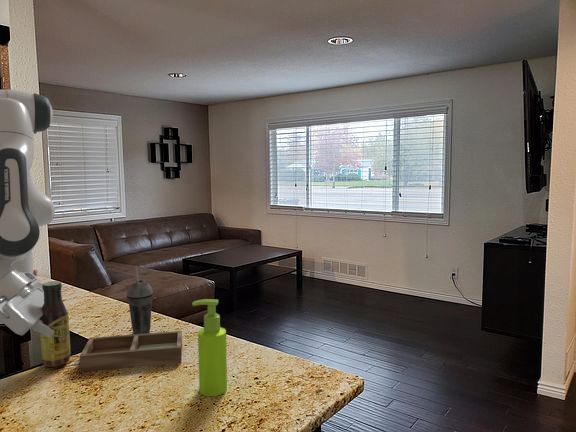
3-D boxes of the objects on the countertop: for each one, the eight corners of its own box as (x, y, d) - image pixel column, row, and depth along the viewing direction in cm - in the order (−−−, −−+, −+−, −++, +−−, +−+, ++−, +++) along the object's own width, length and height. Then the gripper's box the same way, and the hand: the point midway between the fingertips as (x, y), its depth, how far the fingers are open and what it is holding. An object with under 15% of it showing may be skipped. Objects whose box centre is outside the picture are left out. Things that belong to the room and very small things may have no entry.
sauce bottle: (59, 369, 104) (52, 288, 101) (36, 367, 105) (28, 287, 102) (77, 356, 111) (71, 280, 107) (55, 354, 112) (49, 278, 109)
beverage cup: (160, 330, 129) (157, 263, 127) (144, 340, 122) (141, 269, 120) (139, 327, 132) (136, 262, 129) (122, 336, 125) (119, 267, 122)
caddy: (90, 352, 114) (89, 337, 114) (182, 345, 119) (181, 330, 119) (80, 372, 104) (79, 356, 103) (181, 363, 109) (180, 347, 108)
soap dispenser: (196, 383, 99) (194, 296, 96) (227, 382, 99) (226, 295, 97) (192, 397, 93) (190, 305, 90) (226, 396, 93) (224, 304, 91)
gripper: (0, 294, 94) (54, 335, 97) (34, 271, 113) (77, 305, 117) (-21, 316, 93) (33, 356, 97) (16, 288, 113) (59, 322, 116)
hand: (57, 328), depth 107 cm, fingers closed on sauce bottle, 6 cm apart
